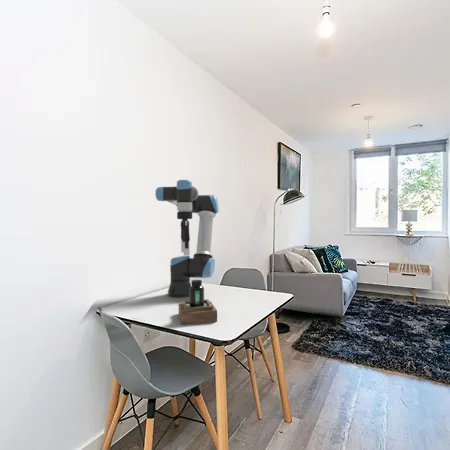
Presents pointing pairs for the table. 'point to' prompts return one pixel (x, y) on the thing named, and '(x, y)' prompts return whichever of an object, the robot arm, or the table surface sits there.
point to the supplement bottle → (196, 294)
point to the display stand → (197, 313)
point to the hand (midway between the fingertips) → (185, 253)
